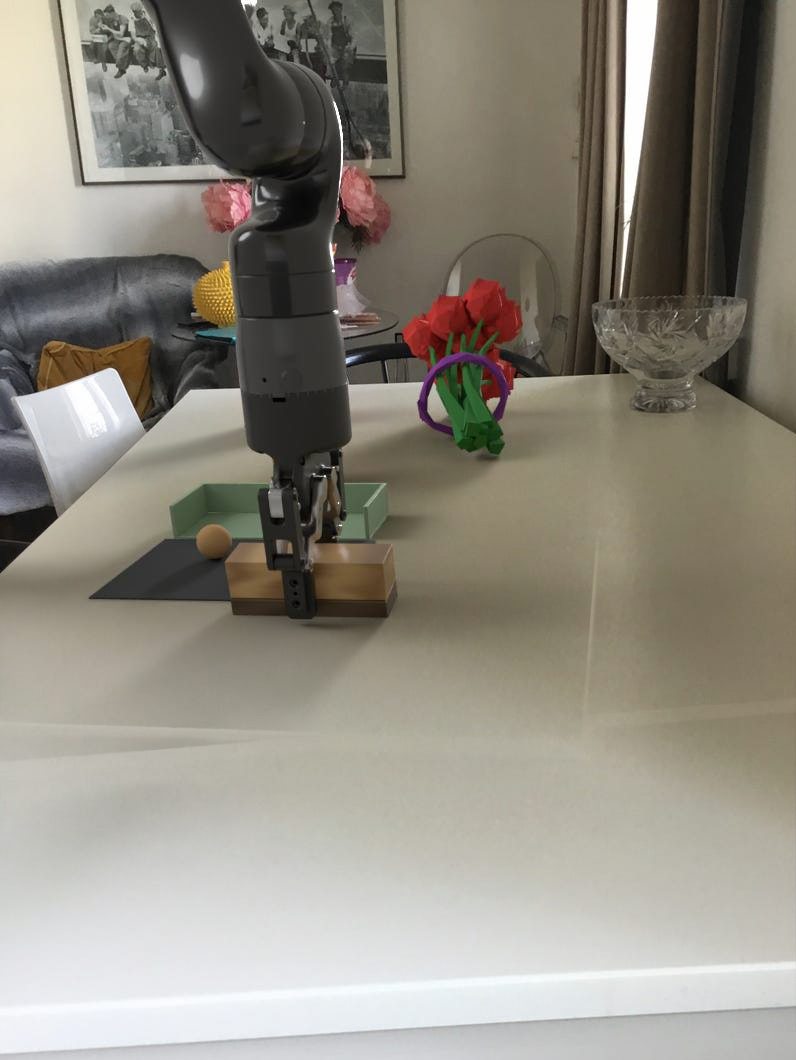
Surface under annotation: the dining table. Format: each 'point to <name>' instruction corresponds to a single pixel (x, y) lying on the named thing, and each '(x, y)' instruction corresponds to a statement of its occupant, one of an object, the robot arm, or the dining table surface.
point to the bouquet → (467, 361)
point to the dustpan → (242, 517)
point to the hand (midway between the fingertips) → (315, 598)
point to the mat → (177, 574)
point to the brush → (317, 581)
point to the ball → (214, 541)
